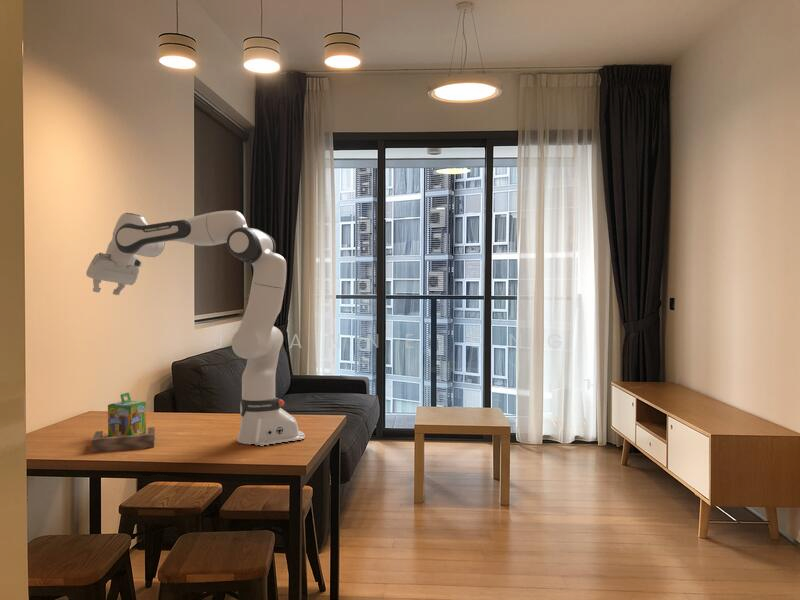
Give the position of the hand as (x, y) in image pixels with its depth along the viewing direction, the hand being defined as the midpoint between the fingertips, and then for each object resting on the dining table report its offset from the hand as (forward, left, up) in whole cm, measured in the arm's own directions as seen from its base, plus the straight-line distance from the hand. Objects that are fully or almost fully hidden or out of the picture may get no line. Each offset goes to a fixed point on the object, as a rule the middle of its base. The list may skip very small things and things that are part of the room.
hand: (105, 293), depth 210 cm
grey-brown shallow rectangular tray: (-7, +21, -50) cm, 54 cm away
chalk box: (-7, +6, -50) cm, 51 cm away
